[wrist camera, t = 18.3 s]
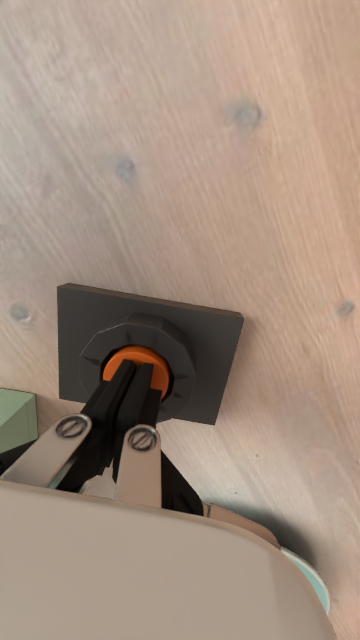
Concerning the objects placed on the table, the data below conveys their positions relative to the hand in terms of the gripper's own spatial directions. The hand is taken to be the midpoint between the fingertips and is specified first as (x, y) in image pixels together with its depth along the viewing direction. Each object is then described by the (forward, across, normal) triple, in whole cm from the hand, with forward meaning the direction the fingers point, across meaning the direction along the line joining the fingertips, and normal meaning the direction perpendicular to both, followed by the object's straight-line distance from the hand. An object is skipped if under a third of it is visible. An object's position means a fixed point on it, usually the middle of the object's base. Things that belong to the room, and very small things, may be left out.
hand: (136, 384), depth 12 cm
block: (+3, 0, 0) cm, 3 cm away
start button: (+2, 0, 0) cm, 2 cm away
